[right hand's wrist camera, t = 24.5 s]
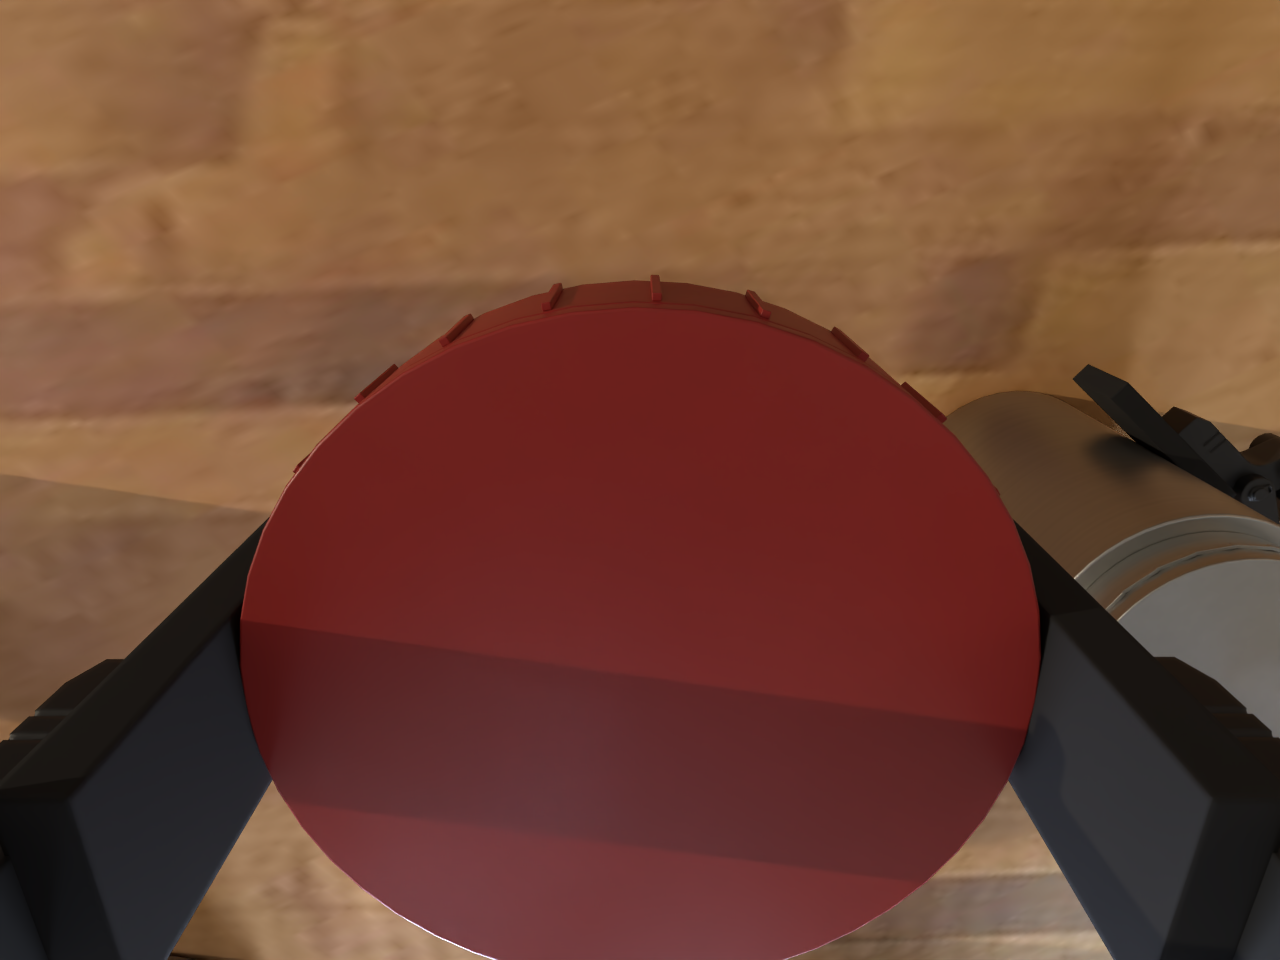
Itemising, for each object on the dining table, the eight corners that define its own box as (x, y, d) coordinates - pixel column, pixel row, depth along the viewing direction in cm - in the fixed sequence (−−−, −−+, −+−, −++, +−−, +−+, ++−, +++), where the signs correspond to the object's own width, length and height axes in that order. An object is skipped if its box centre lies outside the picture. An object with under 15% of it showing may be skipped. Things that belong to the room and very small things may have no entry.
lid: (698, 960, 15) (707, 1076, 13) (178, 679, 13) (97, 770, 11) (1131, 561, 12) (1223, 637, 10) (549, 98, 10) (527, 84, 8)
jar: (974, 608, 41) (1158, 854, 26) (863, 480, 38) (999, 675, 24) (1140, 492, 38) (1440, 693, 24) (1033, 348, 36) (1298, 475, 22)
